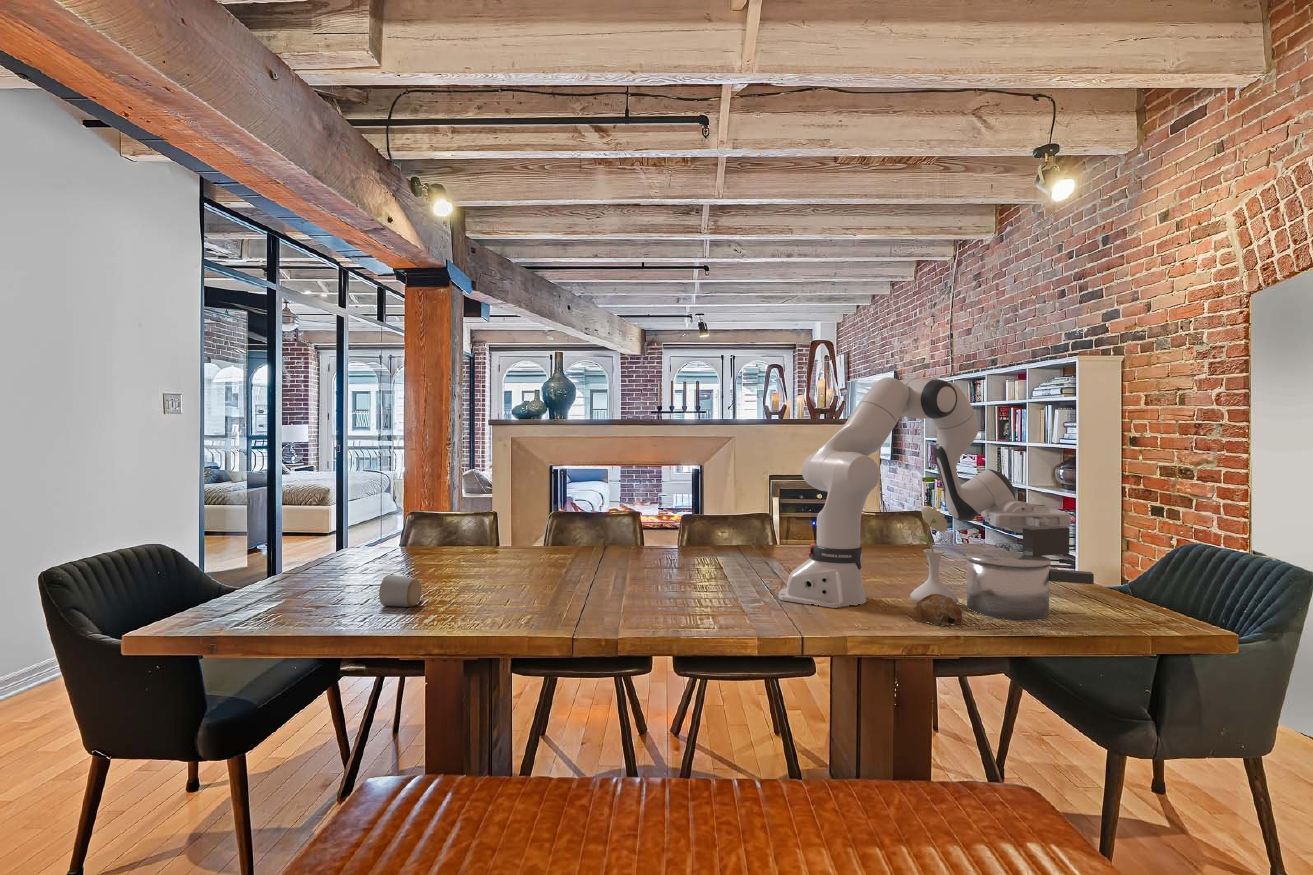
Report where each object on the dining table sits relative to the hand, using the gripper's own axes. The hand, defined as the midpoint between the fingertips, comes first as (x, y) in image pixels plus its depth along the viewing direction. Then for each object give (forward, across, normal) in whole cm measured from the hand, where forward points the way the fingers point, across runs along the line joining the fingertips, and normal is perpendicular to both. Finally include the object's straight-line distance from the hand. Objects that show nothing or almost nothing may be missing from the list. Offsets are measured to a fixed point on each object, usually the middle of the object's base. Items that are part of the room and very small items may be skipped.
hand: (1044, 523), depth 177 cm
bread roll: (+21, -36, +20) cm, 46 cm away
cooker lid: (+10, -11, +8) cm, 17 cm away
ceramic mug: (+12, -167, +18) cm, 168 cm away
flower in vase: (+6, -31, +20) cm, 38 cm away
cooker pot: (+13, -11, +20) cm, 26 cm away
